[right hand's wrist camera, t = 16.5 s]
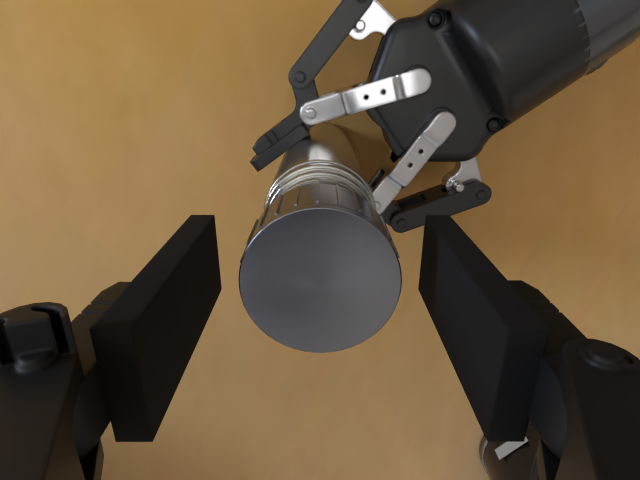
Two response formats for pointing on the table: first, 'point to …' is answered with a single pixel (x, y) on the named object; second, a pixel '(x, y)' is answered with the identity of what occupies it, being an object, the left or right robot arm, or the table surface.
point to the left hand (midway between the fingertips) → (284, 199)
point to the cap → (320, 269)
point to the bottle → (321, 164)
